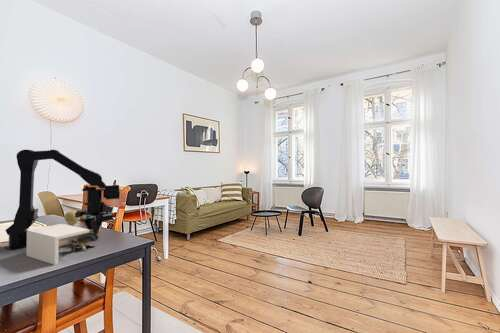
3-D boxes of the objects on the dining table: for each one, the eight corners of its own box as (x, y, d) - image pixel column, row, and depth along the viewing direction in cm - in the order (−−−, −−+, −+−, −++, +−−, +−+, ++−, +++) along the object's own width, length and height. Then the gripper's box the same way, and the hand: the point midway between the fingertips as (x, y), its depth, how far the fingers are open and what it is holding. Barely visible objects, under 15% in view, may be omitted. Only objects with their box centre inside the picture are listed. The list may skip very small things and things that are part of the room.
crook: (34, 251, 95) (33, 242, 94) (97, 234, 116) (97, 227, 115) (46, 257, 90) (45, 247, 90) (110, 238, 111) (110, 230, 111)
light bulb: (71, 232, 120) (72, 212, 120) (61, 231, 121) (61, 211, 121) (83, 229, 126) (83, 210, 126) (72, 228, 128) (73, 209, 128)
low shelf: (26, 255, 91) (26, 230, 91) (60, 246, 101) (61, 223, 101) (54, 264, 83) (55, 237, 83) (88, 253, 94) (89, 229, 94)
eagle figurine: (80, 252, 92) (102, 241, 100) (70, 236, 93) (93, 226, 101) (71, 259, 96) (93, 248, 104) (62, 243, 96) (85, 233, 104)
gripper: (123, 199, 116) (123, 232, 116) (97, 196, 124) (97, 227, 124) (101, 202, 106) (100, 238, 106) (74, 199, 113) (74, 232, 114)
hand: (93, 233), depth 113 cm, fingers closed on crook, 3 cm apart
